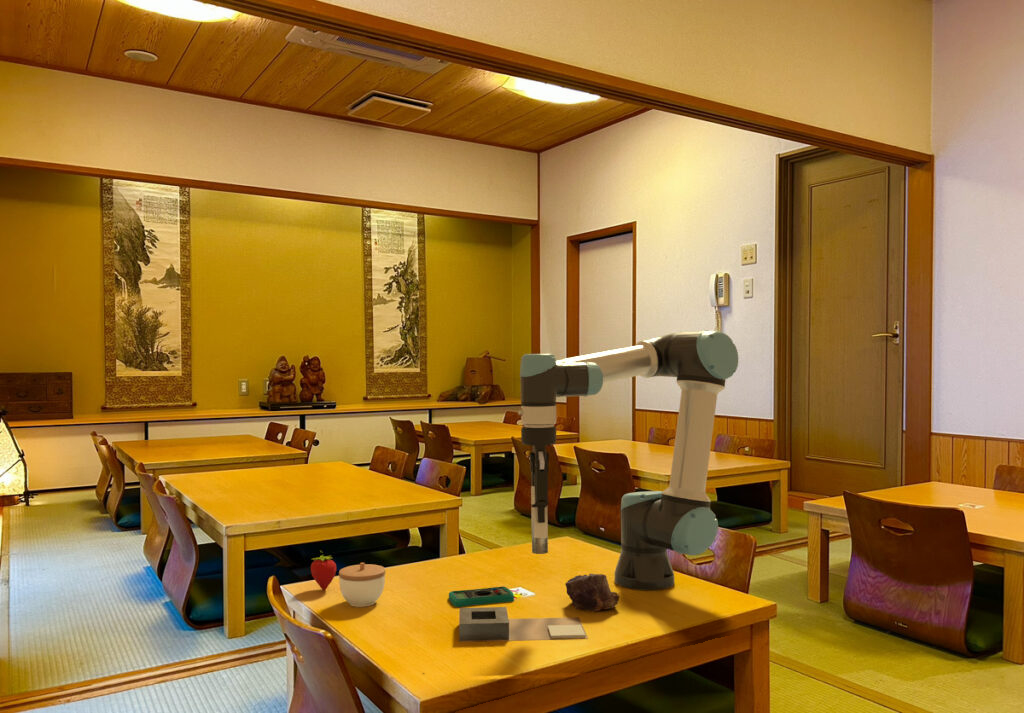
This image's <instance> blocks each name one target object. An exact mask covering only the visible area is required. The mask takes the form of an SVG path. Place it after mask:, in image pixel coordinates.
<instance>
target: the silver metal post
mask: <svg viewBox="0 0 1024 713" xmlns="http://www.w3.org/2000/svg"><path fill="white" fill-rule="evenodd" d="M530 493H531V494H530V498H531V499H530V504H534V503H535V484H534V486H532V485H531V486H530ZM530 508H531V510H530V511H531V513H530V514H531V553H532V554H534V555H535V554H536V555H546V554H548V553H549V542H548V541H549V540H548V539H549V536H548V535H549V534H548V532H549V531H548V530H549V529H548V528H549V526H548V524H549V523H548V520H547V538H535V537H534V507H532V505H531V507H530Z"/></svg>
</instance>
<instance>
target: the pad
mask: <svg viewBox="0 0 1024 713" xmlns="http://www.w3.org/2000/svg"><path fill="white" fill-rule="evenodd" d="M582 626H583V625H582ZM582 626H581V625H549V626H548V630H549V634H550V637H551V639H557V638H585V633H584V631H583V628H584V627H583V628H582Z"/></svg>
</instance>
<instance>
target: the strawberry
mask: <svg viewBox="0 0 1024 713" xmlns="http://www.w3.org/2000/svg"><path fill="white" fill-rule="evenodd" d="M319 551H320V552H322V550H319ZM332 559H333V557H332V555H327V556H324V555H320V556H319V557H315V558H314V557H313V558H311V560H310V561H312V560H313V562H312V563H311V565H310V572H311V576H312V578H313V579H314V581H315V582H316V583H317V585H319V588H320V589H321V590H322V591H325V590H326V589H328V588H329V586H330V585H331V583H332V581H333V579H335V576H336V573H337V564H336V562H334V560H332Z"/></svg>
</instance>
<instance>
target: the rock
mask: <svg viewBox="0 0 1024 713" xmlns="http://www.w3.org/2000/svg"><path fill="white" fill-rule="evenodd" d="M608 581H609V580H608V578H607V575H605V574H602V573H600V574H599V573H597V574H596V573H589V574H588V575H587V574H583V575H581V574H579V575H575V576H574V577H571V578H570V579H568V580H567V582H565V583H564V585H565V587H566V594H567V596H568V597H569V599H570V600H571V602H572V605H573V606H574V608H575V609H576V610H583V611H587V612H600V611H602V610H608V609H609V610H610V609H613V608H616V606H617V605H618V604H619V603H618V602H619V600H620V595H619V593H618V592H615V591H612V590H611V587H610V585H609V582H608Z"/></svg>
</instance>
